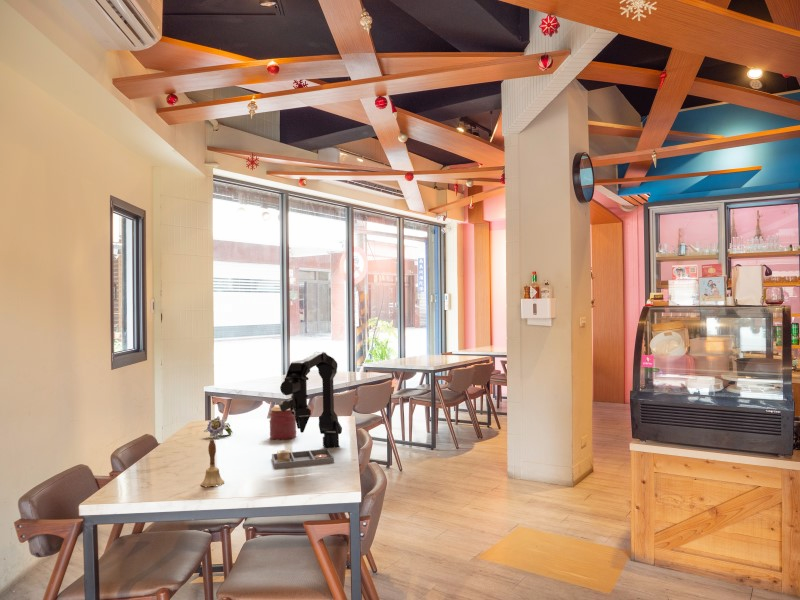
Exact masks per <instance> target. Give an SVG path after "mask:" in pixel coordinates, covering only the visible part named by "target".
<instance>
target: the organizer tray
mask: <svg viewBox="0 0 800 600" xmlns="http://www.w3.org/2000/svg"><path fill="white" fill-rule="evenodd" d="M289 454H290V462H281V463H278V458H277V453H272V454H271V460H272V464H273V467H274V469H275V470H276V469H286V468H297V467H305V466H315V465H316V466H317V465H323V464H325V465H326V464H335V463H334V462H335V457H334V456H333V454H332V453H331V452H330V450H329V448H323V449H321V448H320V449H311V450H301V451H292V452H291V451H289ZM320 454H324V455H327V458H321V459H315V456H316V455H320Z"/></svg>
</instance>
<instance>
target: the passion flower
mask: <svg viewBox="0 0 800 600" xmlns="http://www.w3.org/2000/svg"><path fill="white" fill-rule="evenodd" d="M227 420H228V419H227V418H224V419H221V417H220V416H219V415H218V416H217V417H215V418H213V419H211V420H210V421H208V424H207V427H206V429H205V430H203V432H204V433H207V432H209V433H210V434H209V436H210V437H213V438H214V439H216V438H217V437H218V434H219V435H220V436H223V433H224V431H226V432H227V434H228V435H229V436H230V435H231V436H232V434H233V430H232V428H230V427H231V424H229V422H226V421H227Z"/></svg>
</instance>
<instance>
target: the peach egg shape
mask: <svg viewBox="0 0 800 600" xmlns="http://www.w3.org/2000/svg"><path fill="white" fill-rule="evenodd" d="M321 458H327V455H324V454H320V455H316V456H315V459H321Z"/></svg>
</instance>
